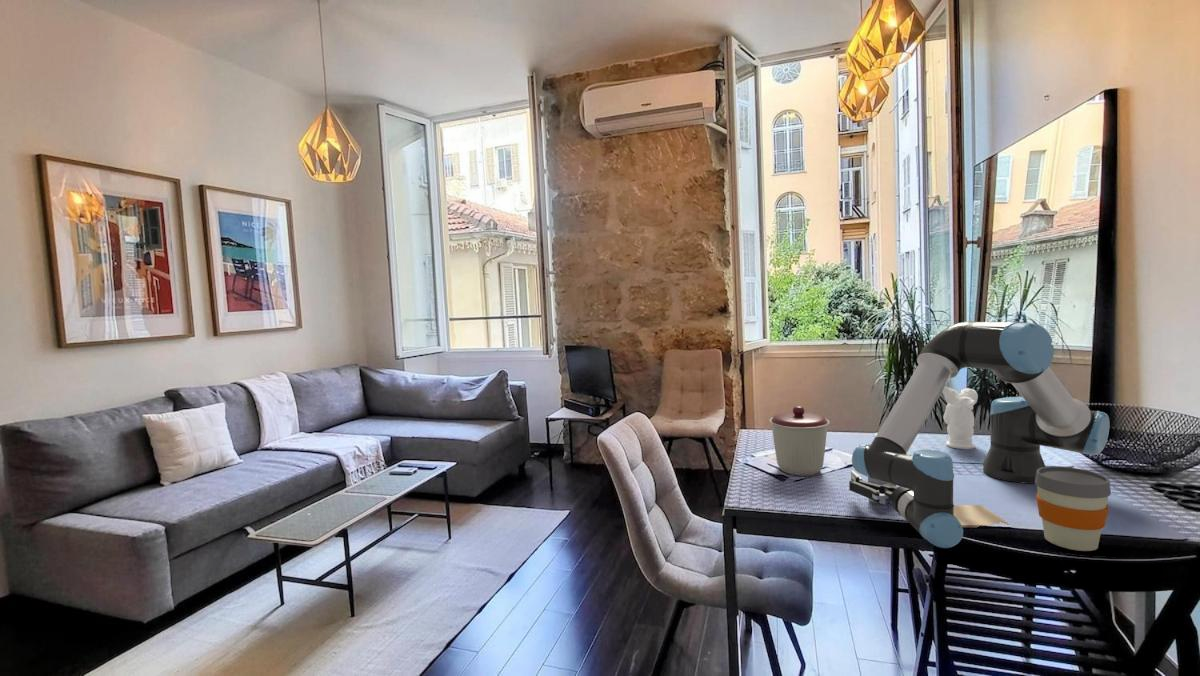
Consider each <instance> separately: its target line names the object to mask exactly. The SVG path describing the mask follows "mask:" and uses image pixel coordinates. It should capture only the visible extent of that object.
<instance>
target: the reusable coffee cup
mask: <svg viewBox="0 0 1200 676" xmlns="http://www.w3.org/2000/svg"><path fill="white" fill-rule="evenodd" d="M1110 483H1111V482H1110V479H1109V478H1108V477H1107V476H1104V475H1103V474H1101V473H1098V472H1094V471H1090V470H1088V469H1083V468H1082V469H1081V468H1077V467H1076V468H1075V467H1069V466H1067V467H1066V466H1046V467H1042V468H1039V469H1037V471H1036V478H1035V483H1034V484H1035V485H1036V487H1037V493H1036V494H1035V495H1036V496H1035V498H1036V503H1037V509H1038V510H1037V511H1038V515H1039V517H1040V518H1041V520H1042V521H1041V522H1042V530H1043V535H1044V539H1045V540H1046V541H1047V542H1050V543H1051V544H1053V545H1055V546H1058V547H1059V548H1060V547H1061V548H1065V549H1068V550H1073V551H1080V552H1091V551H1096V550H1097V549H1099V543H1100V539H1101V534H1102V529H1104V528H1106V527H1105V526H1106V523H1107V517H1108V514H1109V513H1108V512H1109V508H1110V506H1109V504H1108V500H1109V497H1110V496H1111V495H1112V494H1111V493H1112V492H1111V484H1110Z"/></svg>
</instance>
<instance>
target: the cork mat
mask: <svg viewBox="0 0 1200 676" xmlns="http://www.w3.org/2000/svg"><path fill="white" fill-rule="evenodd" d="M953 505H954V504H953ZM954 516H955V517H956V518H957V520H958V521H959V522H960V523H961V525H962V528H963V529H964V528H969V529H970V528H977V527H979V526H986V525H993V524H996V523H997V524H999V523H1000V522H1001V523H1004V524H1007V525H1009V524H1010V522H1008V521H1006V520H1004V519H1003V518H1002V517H1000V516H999V515H997V514H996V513H995V512H993V511H991V510H989V508H987V507H985V505H982V504H955V505H954Z"/></svg>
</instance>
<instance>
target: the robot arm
mask: <svg viewBox="0 0 1200 676" xmlns="http://www.w3.org/2000/svg"><path fill="white" fill-rule="evenodd" d="M1052 343H1053V338H1052V337H1051V335H1050V333H1049V331H1048V330H1047V329H1046V328H1045V327H1043V326H1042V325H1040V324H1038V323H1034V322H1033V323H1031V322H1025V321H1014V322H1013V321H1011V322H1010V321H1009V322H1008V321H991V322H990V321H972V320H971V321H961V322H958V323H955V324H952V325H950V326H949V327H946V328H945V329H943V330H942V331H940V332H939V333H938V334H936V335H935V336H933V337H932V338H931V339H930V341H928V342H927V344H926V345H924V347H923V348H922V349H921V351H920V353H919V354H918V355H917V358H916V362H917V364H918V365H917V366H916V368H915V370H914V371H913V373H912V375H911V377H910V379H909V380H908V382H907V384H906V385H905V387H904V388H903V390H902V392H901V394H900V395H899V397H898V399H897V400H896V402H895V403H894V405H893V407H892V408H891V411H890V412H889V413H888V416H887V417H886V419H885V420H884V423H883V424H882V425H881V427H880V429H879V431H878V433H877V434H876V436H875V437H874V439H873V440H872V442H871V443H870V444H869V443H868V444H867V443H866V444H865V443H861V444H859V445H858V446H856V447H855V449H854V450H853V451H852V456H851V464H852V468H853V469H854V470H855V471H854V470H851V471H850V480H849V481H848V482H849V485H848V486H849V489H848V490H849V491H851V492H853V493H855V494H858V495H860V496H863V497H865V498H867V499H868V500H869V499H872V500H873V501H874V502H873V503H875V502H876V503H875V504H879V502H880V499H885V500H886V501H889V502H888V503H890V505H891V507H892V508H893V509H894V511H895V512H897V513H898V514H899V516H901V518H903V519H904V520H905V521H906V522H907V523H909V524H910V525H911V526H912V527H913V528H914V529H915V530H916V531H917V532H918V533H919V534H920V535H921V537H922V538H923V539H925V540H926V541H927V542H929V543H930V544H931V545H933V546H935V547H937V548H942V549H949V548H953V547H955V546H956V545H958V544H959V543H960V542H961V540H962V539H963V536H964V528H962V525H961V523H960V522H959V521H958V520H957V518H956V517H955V516H954V479H955V473H954V463H953V462H954V461H953V458H952V457H951V455H949V454H948V453H946V452H944V451H942V450H941V451H940V450H937V449H936V450H935V449H933V450H932V449H918V450H916V451H915V452H913V455H911V454H907V453H908V452H909V450H910V448H911V447H912V445H913V443H914V441H915V440H916V438H917V437H918V434H919V433H920V431H921V429H922V427H923V426H924V424H925V422H926V420H927V419H928V417H929V415H930V414H931V411H932V410H933V408H934V406H935V405H936V403H937V401H938V400H939V398H940V396H941V394H943V392H942V391H943V389H944V387H945V386H947V385H948V384H947V383H948V382H949V380H950V379H953V378H955V377H957V375H958V374H959V372H960V371H961V370H962V369H966V368H973V369H981V370H990V371H992V373H993V374H994V375H995V376H996V378H998V379H999V380H1001V381H1002V382H1005V383H1008V384H1011V385H1012V386H1013V387H1014V388H1015V390H1016V391H1017V392H1018V393H1019V395H1021V396H1009V397H1001V398H1000V397H999V398H996V399H994V400H992V402H991V403H990V412H989V417H990V418H989V421H990V436H989V437H990V444H989V445H990V446H989V450H988V451H987V454H986V456H985V458H984V461H983V465H982V468H983V469H982V471H983V473H984V474H985V475H986V476H989V475H990V476H989V477H991V476H992V478H994V477H995V478H994V479H997V478H999V479H998V480H1001V479H1003V480H1002V481H1006V480H1008V481H1007V482H1011V481H1014V482H1013V483H1019V482H1024V483H1023V484H1035V478H1036V471H1037V469H1039V468H1042V467H1047V466H1046V464H1045V462H1044V459H1043V456H1042V453H1041V446H1043V447H1048V448H1052V449H1058V450H1064V451H1069V452H1074V453H1080V454H1081V455H1092V456H1096V455H1099V454H1100V453H1102V451H1103V450H1104V449H1105V447H1106V445H1107V441H1108V438H1109V434H1110V433H1109V432H1110V426H1111V425H1110V424H1111V423H1110V417H1109V415H1108V414H1107V413H1105V412H1104V411H1100V410H1091V409H1090V408H1089V406H1087V404H1086V403H1084V402H1083V401H1081V400H1079V399H1077V398H1073V397H1072V395H1071V394H1070V393H1069V392H1068V390H1067V389H1066V388H1065V386H1064V385H1063V384H1062V382H1061V381H1060V379H1059V378H1058V377H1057V375H1056V374H1055V373H1054V372H1053V370H1052V369H1051V368H1050V366H1051V364H1052V362H1053V359H1054V355H1055V353H1054V352H1055V348H1054V345H1053V344H1052ZM859 474H860V475H863V476H865V477H867V478H868V477H870V478H872V479H878V480H881V481H885V482H888V483H892V484H894V485H896V487H895V486H893V487H891V486H888V485H877V484H873V483H869V482H868V481H865V480H863V478H862V477H861V476H860V475H859ZM885 489H887V490H886V491H885Z"/></svg>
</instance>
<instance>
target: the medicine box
mask: <svg viewBox="0 0 1200 676" xmlns="http://www.w3.org/2000/svg"><path fill="white" fill-rule="evenodd" d="M867 482H869V483H873V484H877V485H888V486H891V487H893V486H895V487H897V485H894V484H892V483H888V482H885V481H881V480H878V479H872V478H870V477H867ZM886 490H887V489H885V491H886ZM868 501H869V502H871V503H875V502H874V501H873V500H872V499H869V498H868ZM879 503H880V505H883V504H884V506H886V505H888V504H889V503H890V502H889V501H886V500H885V499H880V502H879ZM879 503H878V504H879ZM885 504H886V505H885Z"/></svg>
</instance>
